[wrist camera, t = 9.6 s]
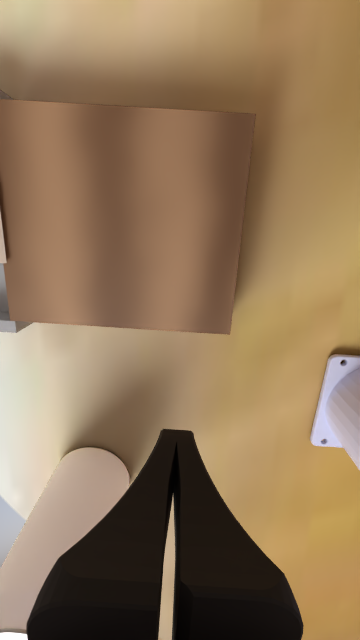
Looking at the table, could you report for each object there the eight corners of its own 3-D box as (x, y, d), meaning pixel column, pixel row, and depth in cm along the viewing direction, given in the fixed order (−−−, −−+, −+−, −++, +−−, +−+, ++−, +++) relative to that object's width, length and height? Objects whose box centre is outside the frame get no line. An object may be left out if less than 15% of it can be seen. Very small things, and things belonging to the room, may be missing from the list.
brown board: (244, 132, 18) (255, 113, 15) (224, 320, 21) (229, 334, 18) (15, 119, 18) (-18, 97, 15) (34, 308, 21) (10, 320, 19)
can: (49, 447, 25) (-66, 630, 14) (123, 440, 25) (67, 623, 13) (68, 504, 27) (-21, 706, 16) (136, 498, 27) (97, 702, 15)
